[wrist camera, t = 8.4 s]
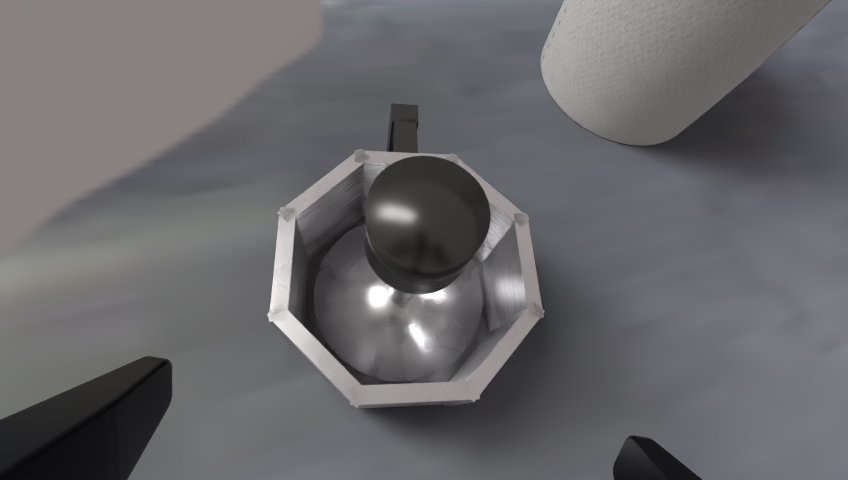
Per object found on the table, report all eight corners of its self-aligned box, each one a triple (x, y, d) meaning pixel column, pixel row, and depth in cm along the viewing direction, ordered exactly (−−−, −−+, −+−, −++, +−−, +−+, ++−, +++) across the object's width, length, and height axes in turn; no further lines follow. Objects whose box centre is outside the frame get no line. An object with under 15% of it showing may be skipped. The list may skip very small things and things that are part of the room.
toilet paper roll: (714, 78, 32) (892, -92, 21) (659, 180, 27) (854, 26, 16) (581, -2, 33) (686, -198, 23) (507, 81, 28) (595, -118, 18)
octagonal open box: (505, 403, 20) (559, 398, 15) (285, 414, 18) (256, 412, 13) (478, 174, 25) (511, 108, 20) (304, 167, 23) (289, 93, 18)
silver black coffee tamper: (414, 421, 18) (462, 423, 10) (278, 307, 19) (217, 220, 11) (508, 285, 21) (607, 198, 13) (387, 194, 22) (406, 59, 14)
